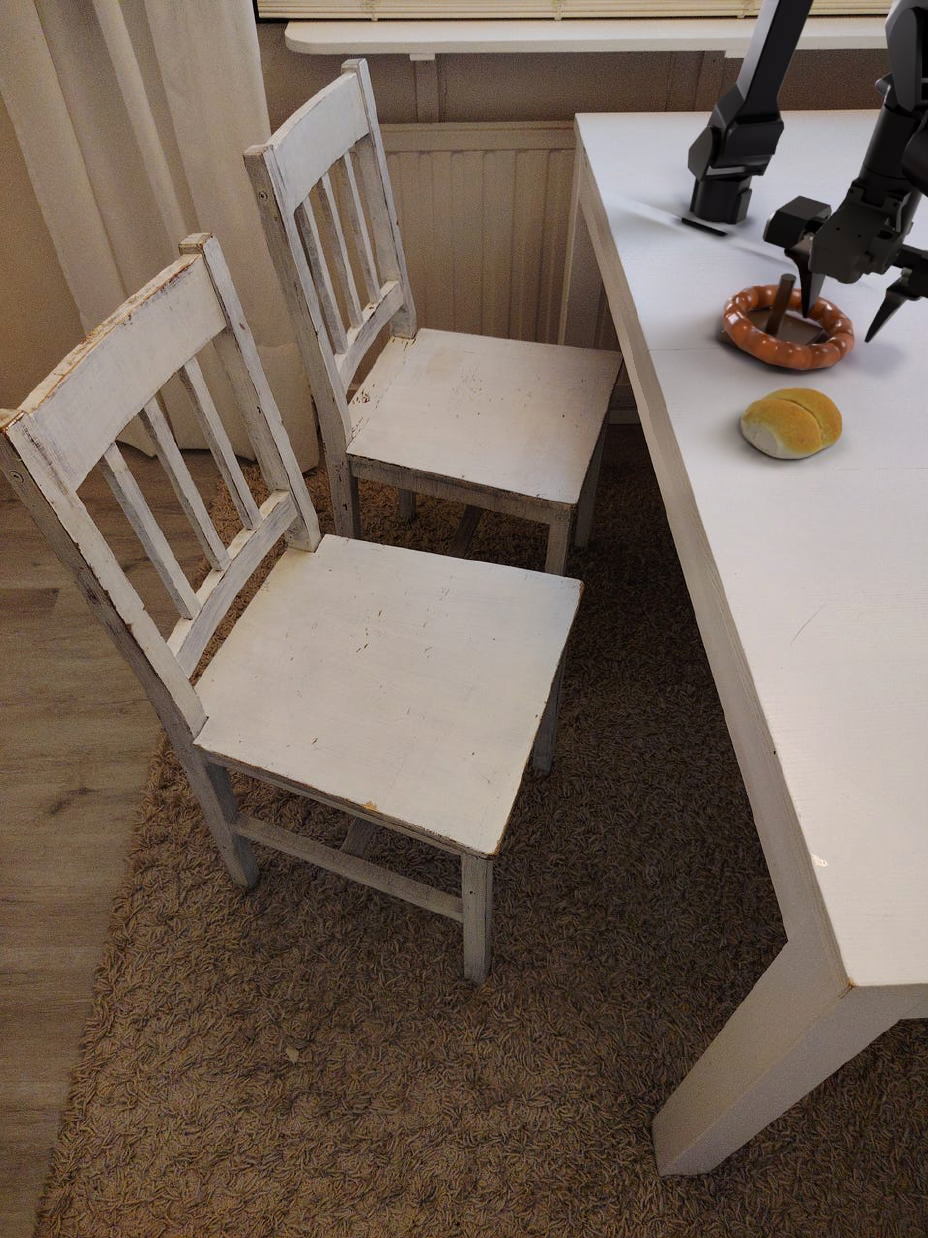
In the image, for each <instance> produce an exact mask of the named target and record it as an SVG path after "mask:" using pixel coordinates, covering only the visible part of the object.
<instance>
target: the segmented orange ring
mask: <svg viewBox="0 0 928 1238" xmlns="http://www.w3.org/2000/svg"><path fill="white" fill-rule="evenodd" d="M777 287H778V284H777V283H776V284H775V283H774V284H763V285H752V286H746V287H745V288H744V287H743V289H741V290H740V291H738V292H737V293H735V294H734V295H732V296H730V297H729V298H728V299H727V300H726V301H725V303H724V306H723V313H722V327H723V330H725V331H726V332H727V333H728V335H729V336H730V337H731V338H732V339H733V341H734V342H735V343H736V344H737V345H738V347H739V348H738V349H740V350H742V351H743V352H745V353H747V354H750V355H751V356H753V357H756V358H757V359H760V360H761V361H763V362H765V363H767V364H769V365H773V366H774V365H775V366H778V367H782V366H784V367H783V368H789V369H794V370H799V371H805V370H813V369H814V370H815V369H822V368H828V367H829V368H830V367H833V366H835V365H836V364H837V363H839V362H840V361H841V360H843V358H845V357H846V356H847V355H848V354H849V353H850V352H851V351H852V350H853V349H854V347H855V344H856V343H855V342H856V341H855V334H854V325H853V322H852V320H851V319H850V318H849V317H848V316H847V315H846V314H845V313H844V312H843V311H842V310H841V309H840V308H839V307H838V306H837V305H836V304H835V303H833V302H831V301H830V300H828V299H826V298H824V297H822V296H819V298H818V300H817V303H816V305H815V307H814V309H813V311H812V314H811V315H810V317H808V318H807V319H808V320H810V321H813V322H814V323H816V324H817V325H818V326H819V327H821V328H824V330H823V331H824V332H825V333H826V334H827V335H828V340H827V341H825V342H823V343H821V342H820V343H813V344H812V345H801V344H796V343H791V342H786V341H781V340H778V339H776V338H774V337H772V336H770V335H768V334H766V333H764V332H762V331H760V330H758V329H757V328H756V327H755V326H754V325H753V324H752V323H751V322H750V320H749V319H748V318H747V313H748V312H749V311H751V310H752V309H760V308H771V307H772V304H773V301H774V297H775V294H776V291H777ZM787 311H788V312H793V313H796V314H798V315H800V316H802V301H801V288H797V287H794V289H793V292H792V295H791V298H790V302H789V305H788V308H787ZM787 311H786V312H787Z"/></svg>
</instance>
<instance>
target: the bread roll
mask: <svg viewBox="0 0 928 1238" xmlns="http://www.w3.org/2000/svg"><path fill="white" fill-rule="evenodd" d="M740 426H741V427H740V428H741V431H742V434H743V436H744V438H745V439H746V440H747V441H749V442H750V443H751V444H752V445H753V446H754V447H755V448H757V449H758V450H760V451H761V452H763V453H764V454H767V455H769V456H771V457H773V458H778V459H789V460H791V459H794V460H796V459H797V460H799V459H804V458H806V457H809V456H811V455H814V454H816V453H818V452H820V451H821V450H824V449H826V448H829V447H830V446H832V445H834V444H835V443H837V442H838V441H839V439H840V438H841V434H842V432H843V418H842V414H841V411H840V409H839V408H838V406H837V405H836V404H835V403H834V401H833V400H832V399H831V398H830V397H829V396H828V395H826V394H824V393H822V392H820V391H818V390H816V389H813V388H807V387H791V388H790V387H789V388H780V389H778V390H774V391H773V392H770V393H769V394H767V395H765V396H763V397H762V398H760V399H758V400H755V401H753V402H752V403H750V404H749V406H747V407H746V409H745V411H744V412H743V414H742V416H741V418H740Z"/></svg>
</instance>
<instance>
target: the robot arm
mask: <svg viewBox="0 0 928 1238" xmlns="http://www.w3.org/2000/svg"><path fill="white" fill-rule="evenodd" d="M814 2H815V0H762V4H761V7H760V10H759V12H758V15H757V19H756V22H755V26H754V28H753V31H752V35H751V38H750V41H749V43H748V47H747V49H746V52H745V56H744V59H743V62H742V65H741V68H740V71H739V74H738V78H737V80H736V82H735V83H734V84H733V85H732V86H731V88H730V89H729V90H728V91H727V92H726V93H725V94H724V95H723V96H722V97H721V98H720V99H719V100H717V102H716V103H715V105H714V107H713V109H712V111H711V114H710V116H709V119H708V122H707V124H706V127H705V128H704V129H703V130H702V131H701V132H700V133H699V135H698V136H697V137H696V139H695V140H694V142H693V143H692V144H691V145H690V147H689V148H688V153H687V169H688V170H689V171H690V173H691V174H692V175H693V176H694V178H695V179H694V183H693V184H694V186H693V189H692V195H691V199H690V205H689V212H692V213H693V214H694V216H695V217H697V219H699V220H702V221H704V222H708V223H713V224H727V225H732V226H736V225H738V224H739V223H741V222H742V221H744V220H745V219H747V215H748V210H749V206H750V202H751V199H752V193H753V188H751V183H752V181H753V177H763V176H764V175H765V173H766V171H767V169H768V167H769V164H770V162H771V160H772V158H773V156H775V155H776V151H777V146H778V144H779V140H780V138H781V137H782V134H783V132H784V130H785V122H784V120H783V119H782V118H783V117H782V115H781V109H780V105H779V100H778V97H779V95H780V91H781V89H782V86H783V83H784V81H785V78H786V75H787V73H788V70H789V68H790V65H791V62H792V59H793V57H794V55H795V52H796V50H797V47H798V43H799V41H800V39H801V37H802V34H803V30H804V29H805V26H806V22H807V20H808V17H809V15H810V13H811V10H812V6H813V4H814ZM884 30H885V39H886V47H887V56H888V61H889V66H890V70H891V71H890V72H889V73H887V74H886V75H883V76H882V77H881V78H879V79H878V80H876V82H875V83H874V90H875V91H876V92H878V93H879V94H880V95H882V96H883V97H884V99H883V102H882V106H881V107H880V111H879V114H878V117H877V120H876V123H875V125H874V129H873V131H872V134H871V137H870V141H869V142H868V146H867V149H866V152H865V155H864V157H863V161H862V164H861V166H860V170H859V172H858V175H857V177H855V178H854V179H853V180H852V181H851V183H850V186H849V188H847V192H846V195H845V197H844V199H843V200H842V202H841V203H840V204H839V206H838V207H837V209H836V210H835V211H834V212H833V210H832V205H831V204H828V203H826V202H822V201H819V200H816V199H812V198H810V197H806V196H802V195H798V196H796V197H794V198H793V199H792V200H789V201H788V202H787V203H785V204H784V205H782V206H781V207H779V208H778V209H776V210H774V211H773V212H772V213H770V215H769V217H768V219H767V220H766V223H765V225H764V229H763V234H762V240H763V242H764V243H767V244H770V245H773V246H776V247H778V248H781V249H783V255H784V257H786V258H789V259H790V260H791V261H792V262H793V264H795V266H796V268H797V271H798V276H799V281H800V283H799V284H800V289H801V301H802V315H801V317H802V319H804V320H807V319H808V317H810V315H811V314H812V311H813V309H814V307H815V305H816V303H817V300H818V298H819V297H820V295H821V291H822V289H823V285H824V282H825V280H826V276H827V277H828V278H832V279H834V280H836V281H837V282H838V283H840V284H844V285H853V284H855V283H857V282H858V281H860V279H861V278H862V277H863V275H865V276H870V275H871V274H873V273H874V274H877V275H880V276H883V275H885V274H886V273H887V272H888V270H889V269H890V268H891V267H895V268H897V269H900V270H901V271H900V273H899V275H900V276H899V277H898V278H897V279H896V280H894V281H893V282H892V283H891V284H890V285H889V286H887V287H886V289H885V296H884V299H883V301H882V303H881V304H880V307H879V308H878V310H877V312H876V314H875V316H874V318H873V320H872V322H871V324H870V325H869V327H868V329H867V332H866V334H865V338H864V343H866V344H869V343H870V342H871V341H872V340H873V339H874V338H875V337H876V336H877V335H878V333H880V331H881V330H882V329H883V328H884V327H885V326H886V324H887V323H888V322H889V321H890V320H891V319H892V317H893V316H894V315H895V314H896V313H897V312H898V311H899V309H900V308H901V307H902V306H903V305H904V304H905V303H906V302H907V301H911V302H917V301H920V300H921V299H922V298H924V299H927V300H928V249H921V248H917V247H915V246H912V245H909V244H905V243H904V241H905V239H906V237H907V236H908V235H909V234H910V233H911V231H912V228H913V226H914V223H915V222H914V221H913V219H914V218H915V217H914V216H915V215H916V212H917V209H918V207H919V204H920V202H921V200H922V197H923V196H925V197H926V198H927V199H928V0H893V1H892V4H891V7H890V9H889V12H888V14H887V16H886V19H885V22H884ZM680 222H681V223H683V224H685V225H688V226H691V227H694V228H697V229H698V230H699V229H700V230H703V231H705V232H708V233H710V234H714V235H716V236H718V237H719V236H720V237H724V236H726V235H727V234H728V232H725V231H722V230H721V229H718V228H714V227H711V226H708V225H706V224H702V223H700V222H697V221H695V220H692V219H688V218H685V217H681V220H680Z"/></svg>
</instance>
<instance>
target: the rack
mask: <svg viewBox="0 0 928 1238" xmlns="http://www.w3.org/2000/svg"><path fill="white" fill-rule="evenodd" d="M797 278H798V277H797V276H796V275H795V274H794V273H790V272H787V273H786V272H785V273H782V274H781V275H780V277H779V282H778V284H777V285H778V287H777V291H776V294H775V297H774V301H773V304H772V307H770V308H760V309H752V310H751V311H749V312H748V313H747V318H748V319H749V320H750V322H751V323H752V324H753V325H754V326H755V327H756V328H757V329H758V330H760V331H762V332H764V333H766V334H768V335H770V336H772V337H774V338H776V339H778V340H781V341H786V342H791V343H796V344H801V345H813V344H815V342H817V341H818V340H819V339H821V338H822V335H823V333H824V331H825V330H824V328H822V327H821V326H819V325H815V324H813V323H811V322H808V321H805V320H803V319H800V318H798V317H796V316H794V315H793V316H792V315H791V314H788V313H787V308H788V305H789V302H790V298H791V295H792V292H793V289H794V288H795V285H796V282H797ZM718 340H719V341H721V342H724V343H725V344H728V345H729V346H733V347H735V348H737V349H740V348H739V347H738V345H737V344H736V343H735V342H734V341H733V339H732V338H731V337H730V336H729V335H728V333H727V332H726V331H725V330H724V329H723V330H721V332H720V334H719V338H718ZM781 367H782V368H785V367H784V366H781Z"/></svg>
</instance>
